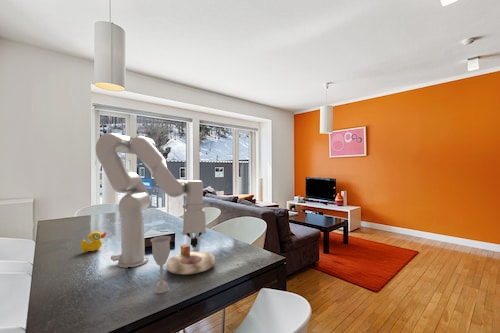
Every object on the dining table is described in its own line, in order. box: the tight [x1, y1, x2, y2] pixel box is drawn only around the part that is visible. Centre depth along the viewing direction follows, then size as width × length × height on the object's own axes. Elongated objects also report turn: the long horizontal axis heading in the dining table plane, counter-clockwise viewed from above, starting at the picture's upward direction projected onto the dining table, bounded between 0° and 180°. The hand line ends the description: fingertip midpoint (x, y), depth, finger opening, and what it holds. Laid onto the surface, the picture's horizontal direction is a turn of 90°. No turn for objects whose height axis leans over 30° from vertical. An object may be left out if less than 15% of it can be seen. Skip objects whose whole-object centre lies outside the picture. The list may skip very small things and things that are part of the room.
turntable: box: [166, 243, 216, 275], centre depth 103 cm, size 20×20×6 cm
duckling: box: [80, 231, 107, 253], centre depth 126 cm, size 11×5×10 cm, turn 126°
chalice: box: [150, 235, 172, 294], centre depth 85 cm, size 7×7×18 cm
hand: (194, 246), depth 111 cm, fingers closed
